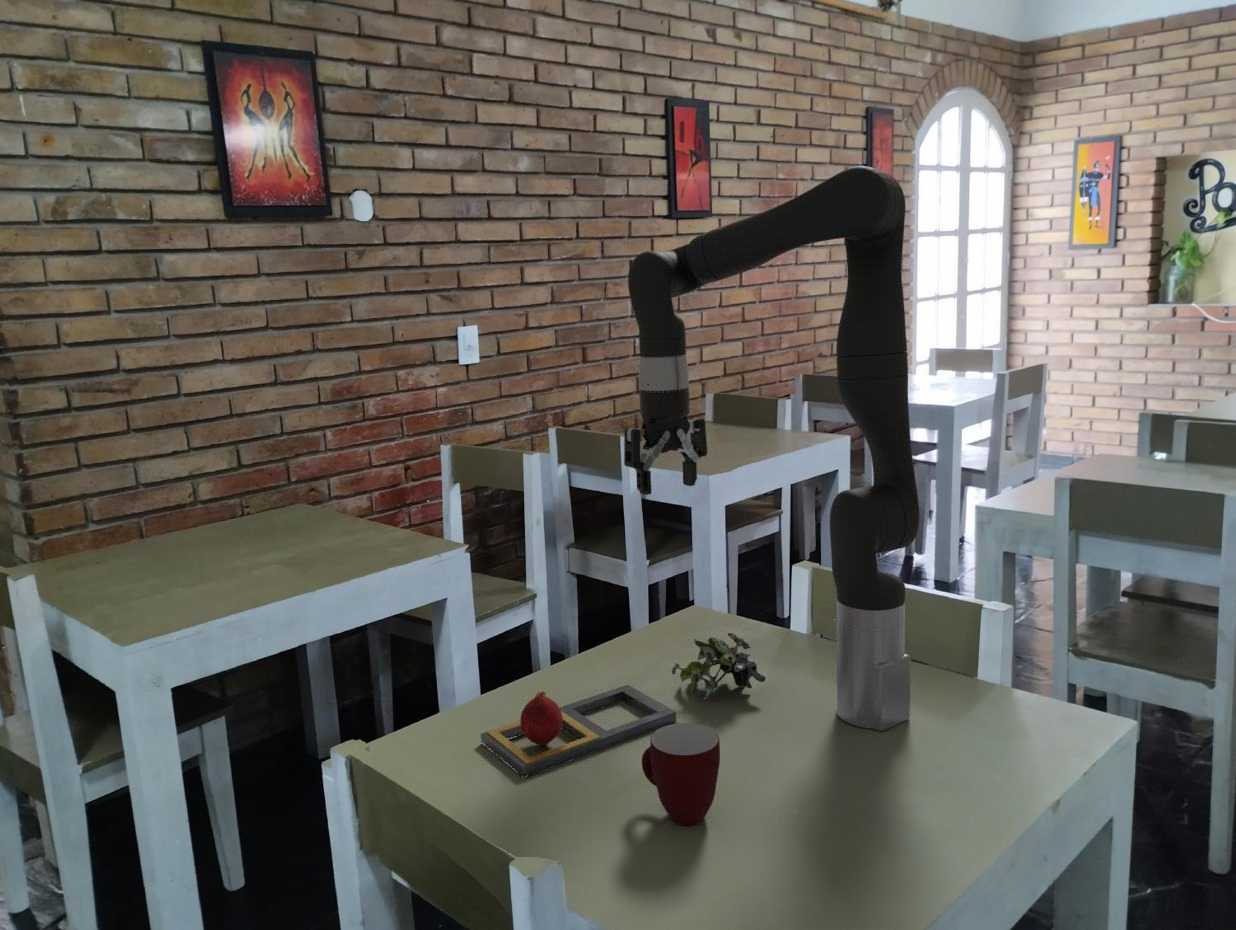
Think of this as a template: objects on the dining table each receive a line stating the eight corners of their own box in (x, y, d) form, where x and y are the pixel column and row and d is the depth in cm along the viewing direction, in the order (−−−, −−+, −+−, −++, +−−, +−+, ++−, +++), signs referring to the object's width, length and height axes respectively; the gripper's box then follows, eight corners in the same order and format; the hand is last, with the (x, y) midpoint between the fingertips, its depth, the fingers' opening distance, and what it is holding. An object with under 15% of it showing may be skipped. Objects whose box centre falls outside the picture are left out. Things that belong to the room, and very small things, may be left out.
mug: (622, 817, 114) (618, 739, 112) (659, 786, 121) (656, 712, 119) (699, 843, 108) (697, 762, 106) (733, 809, 115) (732, 732, 113)
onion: (558, 757, 129) (555, 701, 128) (517, 755, 130) (513, 700, 129) (567, 736, 135) (565, 683, 133) (528, 734, 136) (524, 681, 134)
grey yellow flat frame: (676, 721, 138) (675, 710, 138) (523, 778, 124) (522, 766, 124) (628, 693, 148) (627, 683, 147) (481, 743, 134) (480, 732, 134)
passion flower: (739, 720, 149) (783, 668, 144) (696, 733, 141) (740, 679, 136) (696, 665, 155) (736, 613, 150) (652, 674, 147) (693, 620, 142)
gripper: (640, 392, 139) (644, 501, 142) (716, 382, 147) (718, 485, 150) (611, 388, 145) (616, 493, 148) (685, 379, 153) (688, 478, 156)
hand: (667, 489), depth 149 cm, fingers open, 8 cm apart
